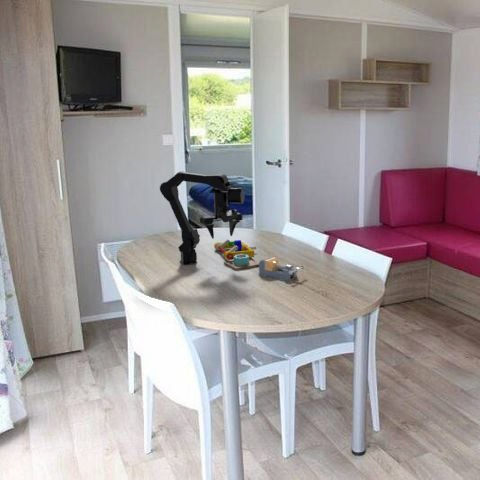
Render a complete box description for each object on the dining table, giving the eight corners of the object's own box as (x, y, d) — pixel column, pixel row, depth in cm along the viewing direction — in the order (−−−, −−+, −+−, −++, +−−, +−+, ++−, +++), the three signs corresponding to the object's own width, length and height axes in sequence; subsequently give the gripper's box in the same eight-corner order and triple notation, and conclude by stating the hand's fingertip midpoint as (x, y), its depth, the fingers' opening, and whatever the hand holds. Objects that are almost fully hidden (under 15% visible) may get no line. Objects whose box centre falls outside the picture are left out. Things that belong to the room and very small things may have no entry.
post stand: (235, 270, 235) (235, 259, 234) (223, 264, 245) (223, 253, 244) (259, 266, 240) (259, 255, 239) (246, 260, 251) (246, 249, 250)
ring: (238, 265, 238) (238, 258, 238) (232, 262, 244) (231, 255, 243) (251, 263, 241) (251, 256, 240) (244, 260, 247) (244, 253, 246)
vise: (256, 275, 228) (256, 260, 226) (270, 269, 235) (270, 255, 234) (291, 283, 216) (291, 267, 215) (305, 277, 224) (305, 261, 222)
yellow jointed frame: (227, 249, 242) (213, 237, 270) (227, 262, 243) (213, 249, 272) (266, 245, 246) (248, 234, 275) (266, 258, 248) (248, 246, 276)
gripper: (209, 207, 226) (210, 243, 230) (248, 203, 234) (248, 238, 238) (198, 204, 236) (200, 238, 239) (236, 199, 244) (237, 233, 248)
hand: (222, 237), depth 241 cm, fingers open, 9 cm apart
